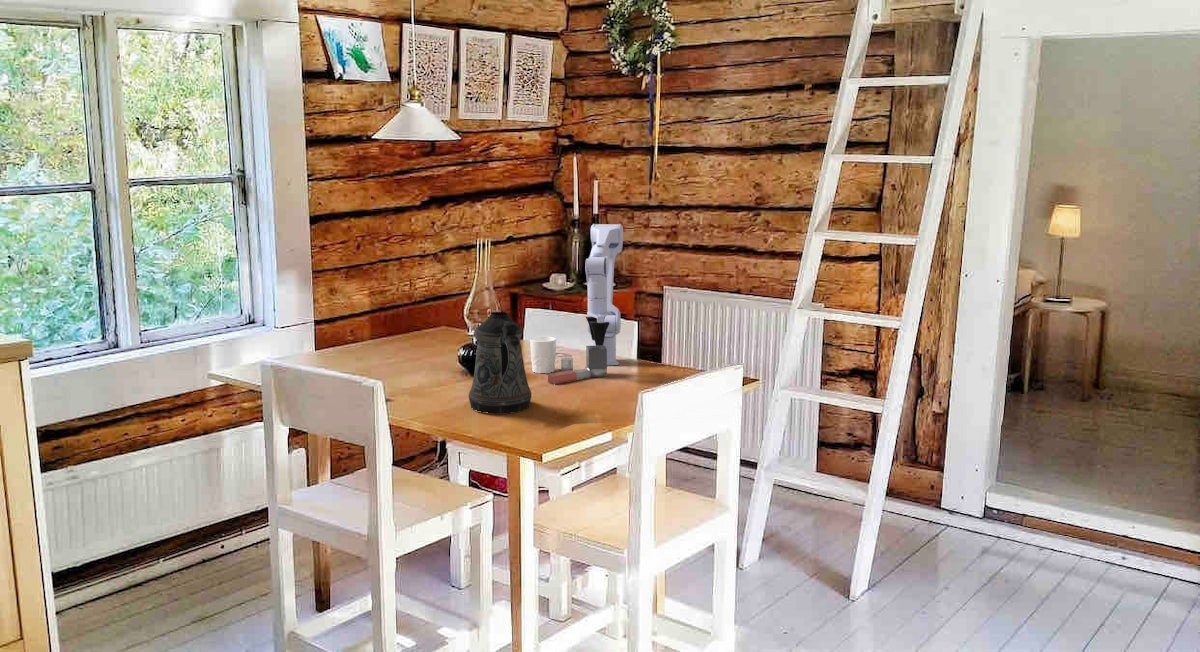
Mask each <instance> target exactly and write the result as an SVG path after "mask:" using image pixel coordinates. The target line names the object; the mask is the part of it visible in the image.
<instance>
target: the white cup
mask: <svg viewBox="0 0 1200 652" xmlns="http://www.w3.org/2000/svg"><path fill="white" fill-rule="evenodd" d="M529 344H530V345H529V346H530V347H529V348H530V360H531V369H532V370H531V371H532V372H533V373H534V372H535V374H540V373H545V374H552V373H555V370H556V364H555V363H556V355H557V354H556V352H557V348H556V347H557V339H556V338H555V337H553V336H534V337H532V338H530V339H529ZM551 372H552V373H551Z"/></svg>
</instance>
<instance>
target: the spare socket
mask: <svg viewBox="0 0 1200 652" xmlns="http://www.w3.org/2000/svg"><path fill="white" fill-rule="evenodd" d="M560 362H561V363H560V370H561V371H560V372H563V371H569V370H571V371H574V359H573V358H572V357H562V358H561V359H560Z"/></svg>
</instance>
